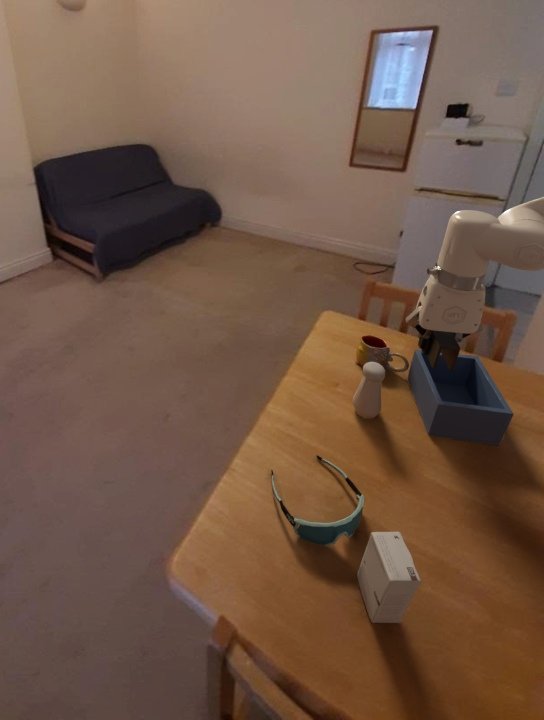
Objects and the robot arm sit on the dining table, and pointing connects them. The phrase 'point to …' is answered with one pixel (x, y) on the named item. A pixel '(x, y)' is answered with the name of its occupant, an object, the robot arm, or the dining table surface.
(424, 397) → the box
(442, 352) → the black channel
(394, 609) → the cosmetic box
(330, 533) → the sunglasses
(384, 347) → the mug
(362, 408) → the salt shaker
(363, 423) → the dining table surface
